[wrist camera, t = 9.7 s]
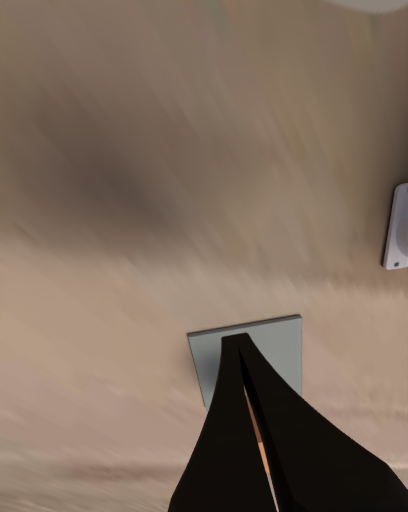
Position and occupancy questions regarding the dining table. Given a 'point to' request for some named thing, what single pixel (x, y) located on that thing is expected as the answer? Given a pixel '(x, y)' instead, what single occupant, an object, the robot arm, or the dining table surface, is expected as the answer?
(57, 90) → the dining table surface
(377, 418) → the dining table surface
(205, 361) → the grey square plate
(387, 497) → the robot arm
